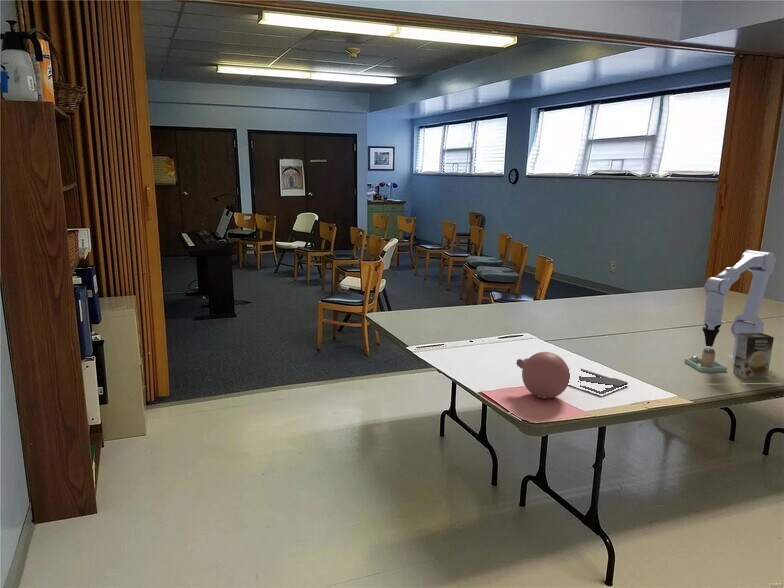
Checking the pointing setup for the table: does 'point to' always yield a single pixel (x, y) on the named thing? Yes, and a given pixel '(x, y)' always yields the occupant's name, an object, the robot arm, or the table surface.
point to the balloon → (544, 374)
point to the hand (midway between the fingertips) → (709, 343)
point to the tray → (716, 367)
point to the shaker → (708, 357)
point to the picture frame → (602, 382)
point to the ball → (694, 359)
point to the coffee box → (753, 355)
